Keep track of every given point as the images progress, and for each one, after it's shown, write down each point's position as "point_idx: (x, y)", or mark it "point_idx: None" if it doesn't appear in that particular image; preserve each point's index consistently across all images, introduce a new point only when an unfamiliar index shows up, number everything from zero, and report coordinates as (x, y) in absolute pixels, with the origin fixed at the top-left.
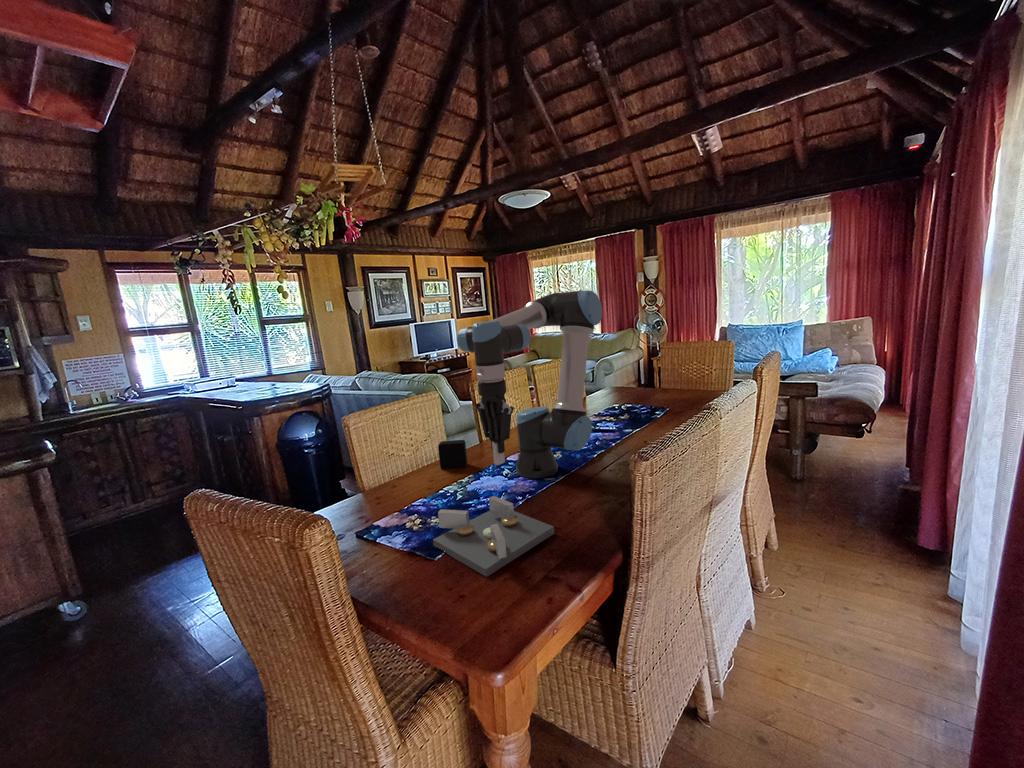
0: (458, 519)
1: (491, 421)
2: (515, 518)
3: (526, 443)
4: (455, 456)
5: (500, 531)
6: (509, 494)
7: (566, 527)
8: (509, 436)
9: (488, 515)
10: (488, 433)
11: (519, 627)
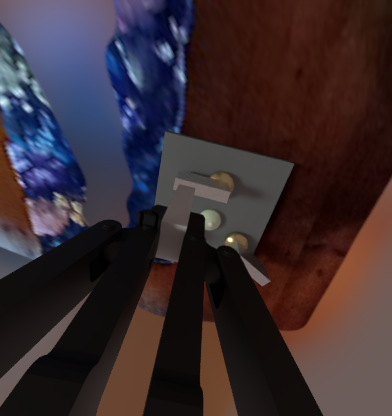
0: None
1: (115, 353)
2: (229, 181)
3: None
4: None
5: (255, 269)
6: (134, 45)
7: (304, 134)
8: (241, 259)
9: (171, 173)
10: (110, 261)
11: (302, 302)
